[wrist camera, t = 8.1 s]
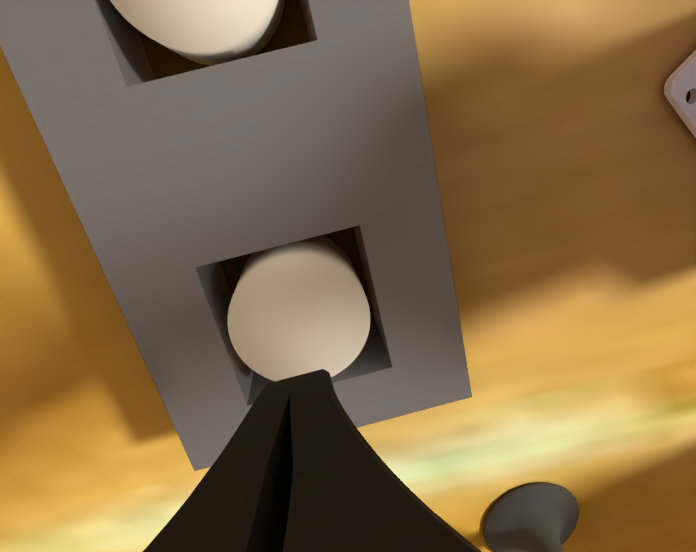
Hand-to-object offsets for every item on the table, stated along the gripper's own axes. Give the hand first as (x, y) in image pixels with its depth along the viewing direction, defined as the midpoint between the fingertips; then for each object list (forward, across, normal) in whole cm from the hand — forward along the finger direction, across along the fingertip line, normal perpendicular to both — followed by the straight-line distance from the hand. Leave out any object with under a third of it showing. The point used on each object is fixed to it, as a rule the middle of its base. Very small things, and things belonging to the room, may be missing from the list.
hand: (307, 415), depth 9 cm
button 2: (+8, 0, 0) cm, 8 cm away
